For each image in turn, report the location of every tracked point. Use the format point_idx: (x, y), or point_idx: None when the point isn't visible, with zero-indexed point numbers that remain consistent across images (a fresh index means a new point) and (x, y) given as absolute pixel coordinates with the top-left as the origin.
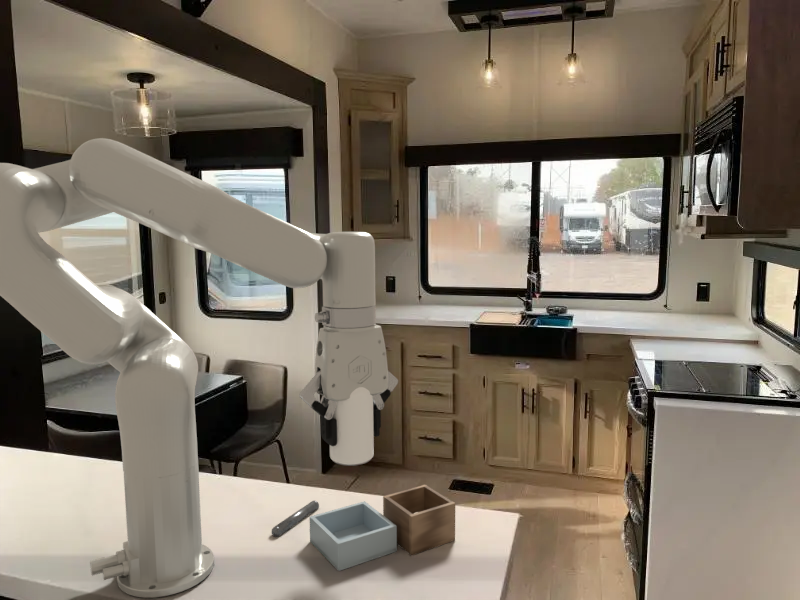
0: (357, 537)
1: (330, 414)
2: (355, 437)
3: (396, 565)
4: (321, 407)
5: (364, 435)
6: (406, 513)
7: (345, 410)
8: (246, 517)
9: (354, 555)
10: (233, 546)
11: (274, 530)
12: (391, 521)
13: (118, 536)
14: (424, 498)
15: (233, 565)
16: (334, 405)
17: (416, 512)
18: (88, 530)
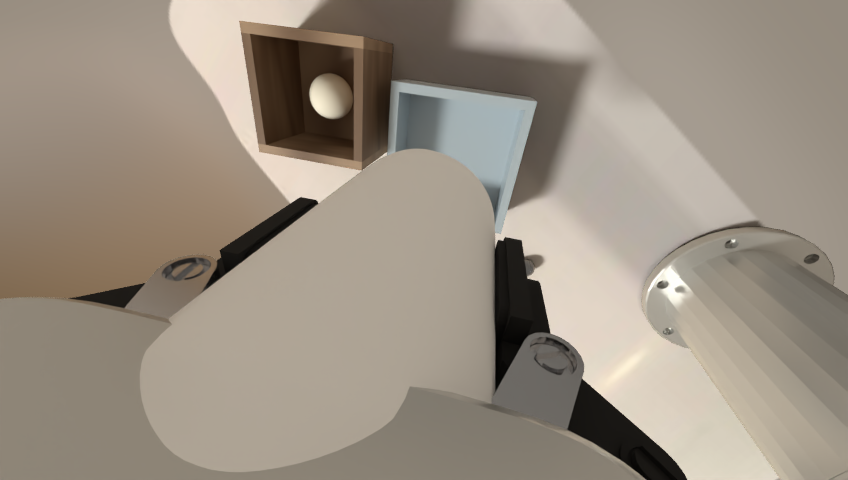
0: (487, 96)
1: (535, 359)
2: (437, 190)
3: (436, 34)
4: (606, 440)
5: (390, 177)
6: (363, 63)
7: (460, 315)
8: None
9: (496, 93)
10: (596, 281)
11: (532, 268)
12: (377, 127)
13: (685, 401)
14: (281, 138)
15: (640, 238)
16: (513, 403)
17: (323, 106)
18: (697, 433)
